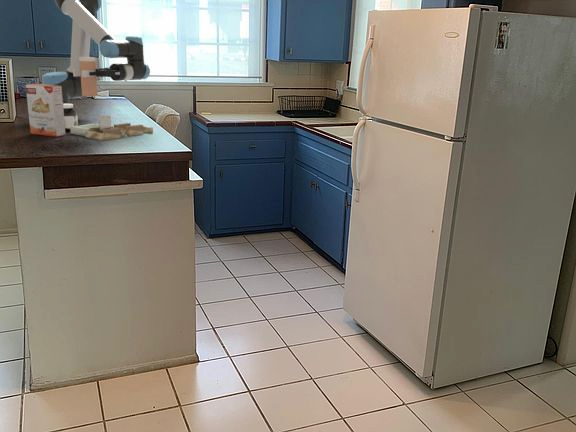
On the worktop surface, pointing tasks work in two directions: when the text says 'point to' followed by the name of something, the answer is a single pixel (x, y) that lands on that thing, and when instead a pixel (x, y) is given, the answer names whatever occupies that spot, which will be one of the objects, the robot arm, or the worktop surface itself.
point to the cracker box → (45, 109)
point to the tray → (82, 129)
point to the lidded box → (88, 82)
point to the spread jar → (69, 117)
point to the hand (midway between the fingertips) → (78, 73)
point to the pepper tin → (104, 122)
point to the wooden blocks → (118, 131)
